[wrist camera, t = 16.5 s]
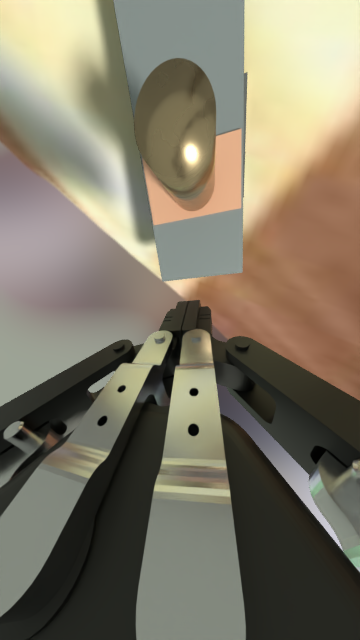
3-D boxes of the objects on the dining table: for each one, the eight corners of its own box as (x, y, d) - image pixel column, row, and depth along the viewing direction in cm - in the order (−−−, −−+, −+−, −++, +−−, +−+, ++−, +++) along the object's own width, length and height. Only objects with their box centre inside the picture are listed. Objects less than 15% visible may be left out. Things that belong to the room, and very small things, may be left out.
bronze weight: (169, 164, 16) (125, 78, 8) (213, 152, 15) (213, 40, 7) (175, 214, 18) (143, 185, 10) (215, 206, 17) (218, 166, 9)
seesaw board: (109, -51, 13) (97, -83, 12) (242, -138, 11) (246, -190, 9) (164, 279, 22) (161, 281, 21) (240, 271, 20) (242, 272, 19)
